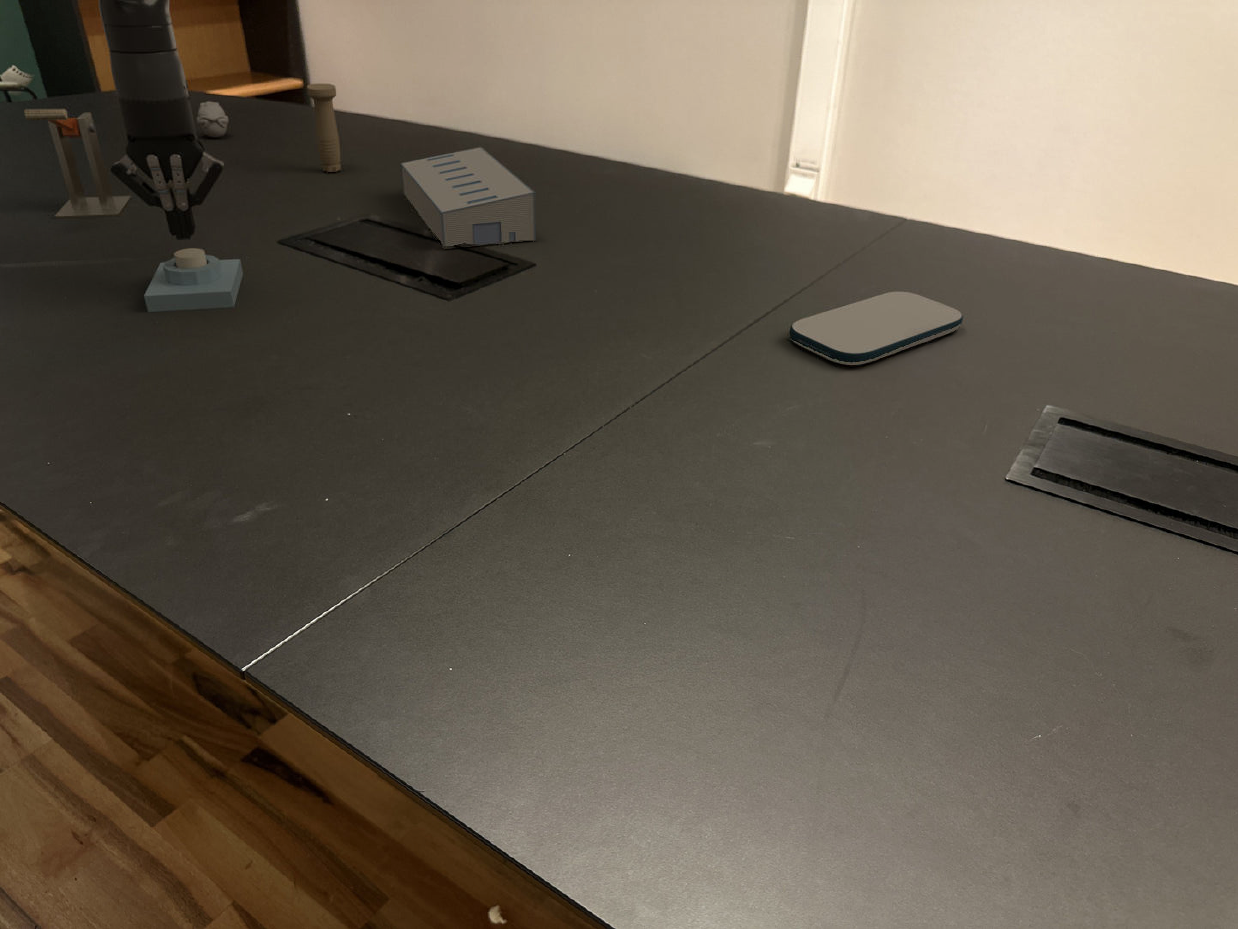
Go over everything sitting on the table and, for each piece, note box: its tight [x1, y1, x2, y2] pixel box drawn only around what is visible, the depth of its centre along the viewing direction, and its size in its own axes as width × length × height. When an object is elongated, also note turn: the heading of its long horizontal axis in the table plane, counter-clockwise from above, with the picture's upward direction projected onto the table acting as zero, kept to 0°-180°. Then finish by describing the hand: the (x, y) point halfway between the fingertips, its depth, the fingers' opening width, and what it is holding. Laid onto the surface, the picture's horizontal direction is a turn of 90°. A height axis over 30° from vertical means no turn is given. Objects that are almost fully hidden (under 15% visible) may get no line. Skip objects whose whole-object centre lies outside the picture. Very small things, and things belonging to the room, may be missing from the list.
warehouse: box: [400, 146, 537, 246], centre depth 146 cm, size 30×14×8 cm, turn 23°
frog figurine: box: [196, 100, 229, 139], centre depth 188 cm, size 6×7×7 cm
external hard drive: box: [788, 290, 964, 363], centre depth 113 cm, size 24×12×2 cm, turn 127°
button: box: [173, 247, 207, 269], centre depth 115 cm, size 4×4×2 cm
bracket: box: [47, 112, 132, 220], centre depth 140 cm, size 10×9×15 cm
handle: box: [306, 83, 342, 173], centre depth 166 cm, size 5×6×15 cm
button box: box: [143, 254, 244, 313], centre depth 116 cm, size 12×10×4 cm
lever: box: [23, 108, 82, 139], centre depth 132 cm, size 13×5×2 cm, turn 15°
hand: (184, 237), depth 113 cm, fingers closed
